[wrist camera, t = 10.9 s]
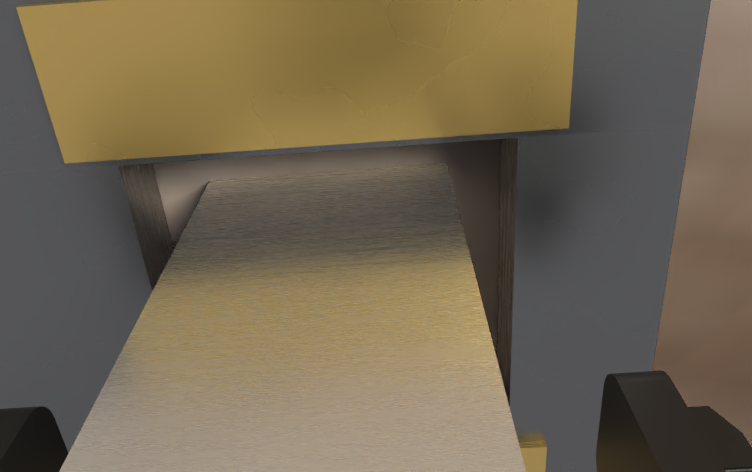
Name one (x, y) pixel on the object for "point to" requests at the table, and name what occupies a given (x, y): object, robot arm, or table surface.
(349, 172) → the steel block
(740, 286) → the table surface
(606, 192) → the fixture plate
